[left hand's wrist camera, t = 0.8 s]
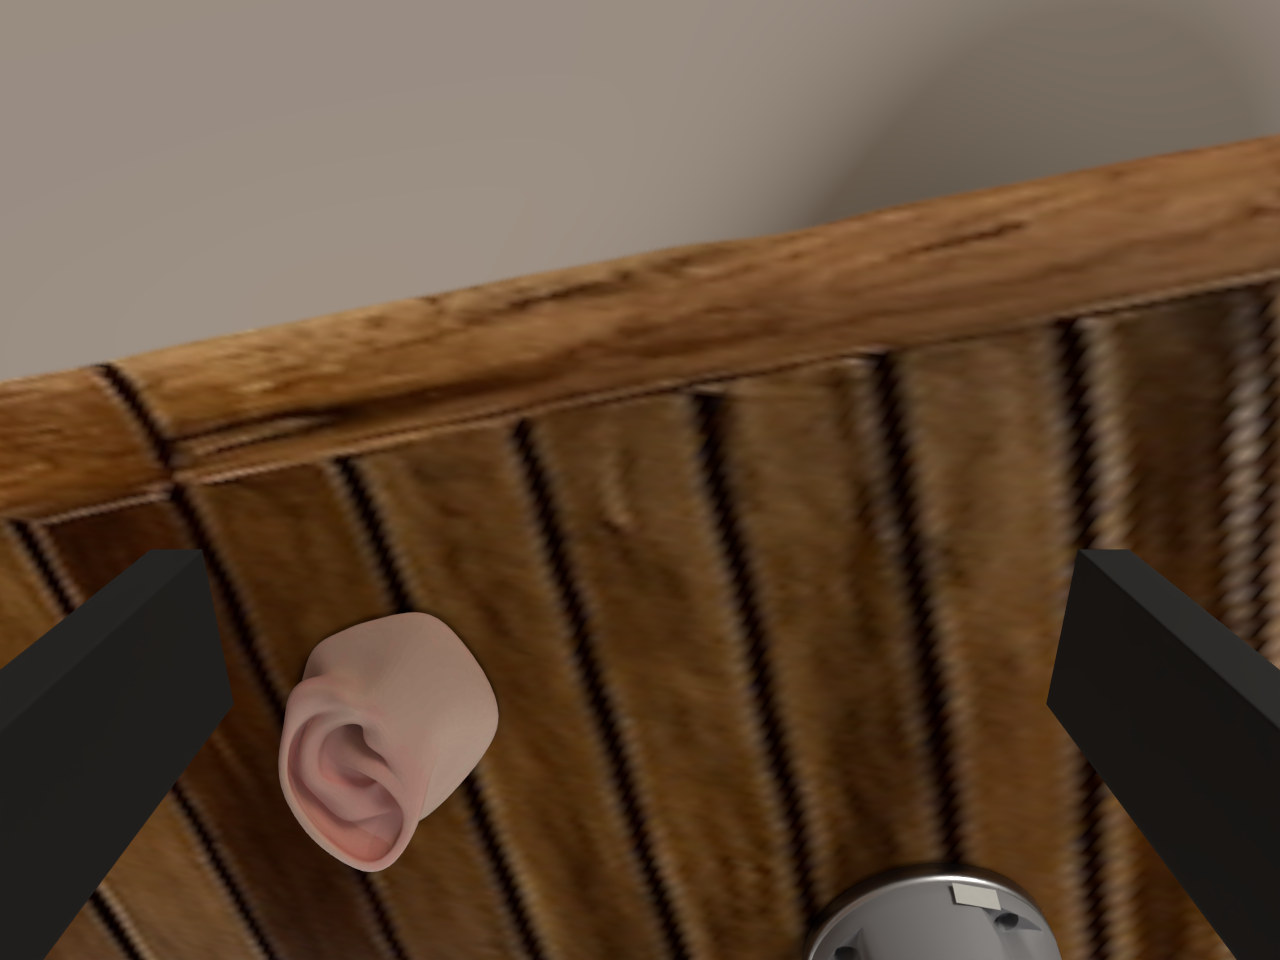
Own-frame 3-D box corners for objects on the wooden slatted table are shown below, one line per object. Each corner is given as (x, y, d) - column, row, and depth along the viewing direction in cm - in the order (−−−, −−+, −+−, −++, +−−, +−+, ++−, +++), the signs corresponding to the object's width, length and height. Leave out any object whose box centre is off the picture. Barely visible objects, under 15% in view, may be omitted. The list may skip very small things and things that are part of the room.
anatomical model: (367, 617, 39) (545, 762, 42) (390, 576, 43) (552, 712, 46) (196, 774, 42) (372, 898, 45) (231, 724, 46) (392, 841, 49)
